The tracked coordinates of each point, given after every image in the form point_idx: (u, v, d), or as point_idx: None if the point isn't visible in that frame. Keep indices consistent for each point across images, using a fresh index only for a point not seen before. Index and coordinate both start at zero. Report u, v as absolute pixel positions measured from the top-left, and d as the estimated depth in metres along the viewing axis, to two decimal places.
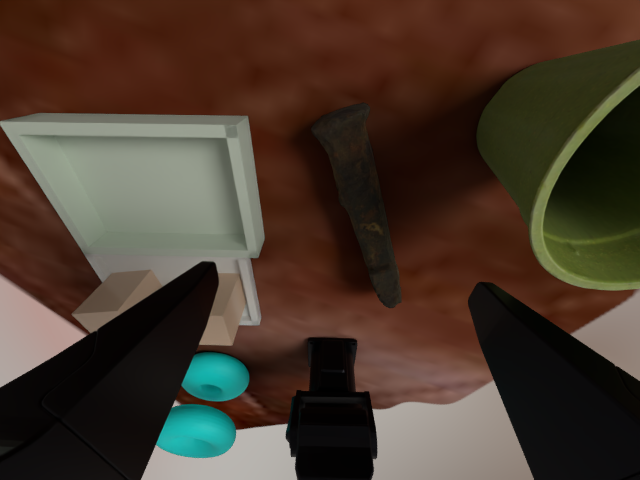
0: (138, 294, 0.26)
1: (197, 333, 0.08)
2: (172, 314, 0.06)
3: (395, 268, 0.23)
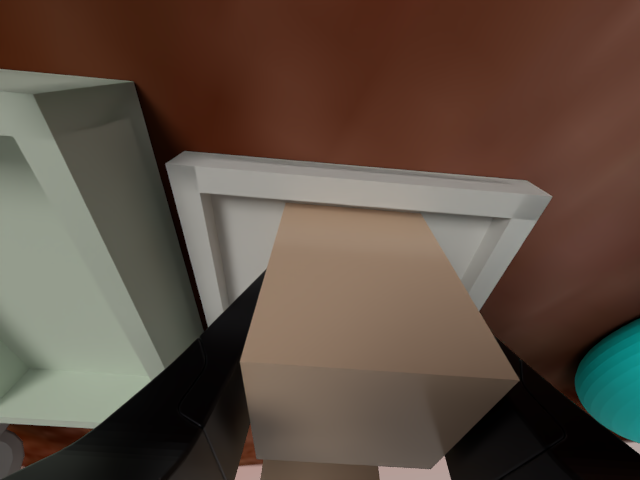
0: None
1: None
2: None
3: None
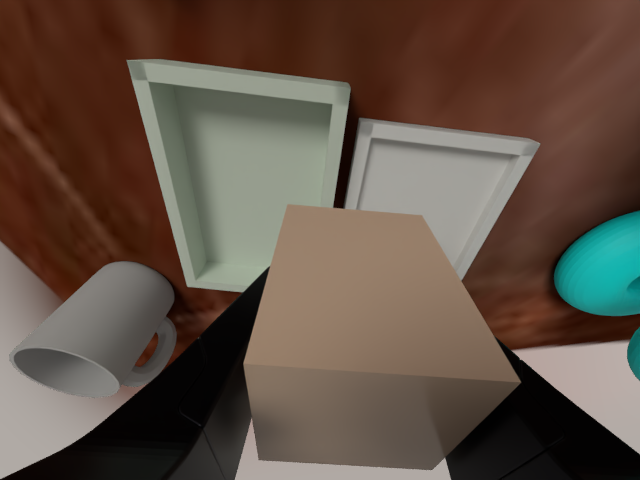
0: None
1: None
2: None
3: None
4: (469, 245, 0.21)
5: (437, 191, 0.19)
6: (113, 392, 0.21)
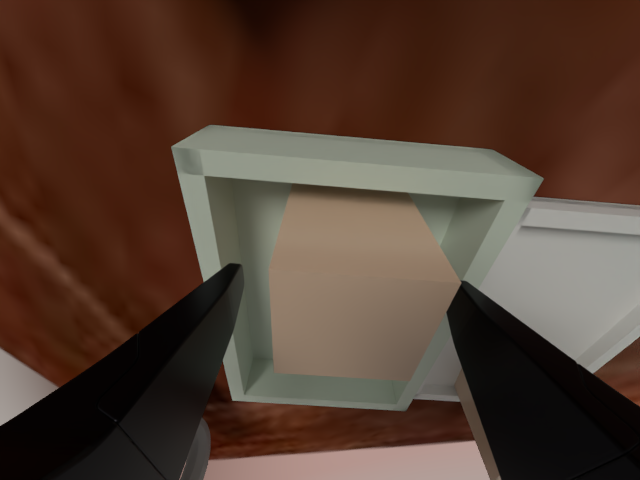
0: None
1: (227, 335, 0.08)
2: (208, 317, 0.06)
3: None
4: (613, 340, 0.15)
5: (587, 280, 0.13)
6: None
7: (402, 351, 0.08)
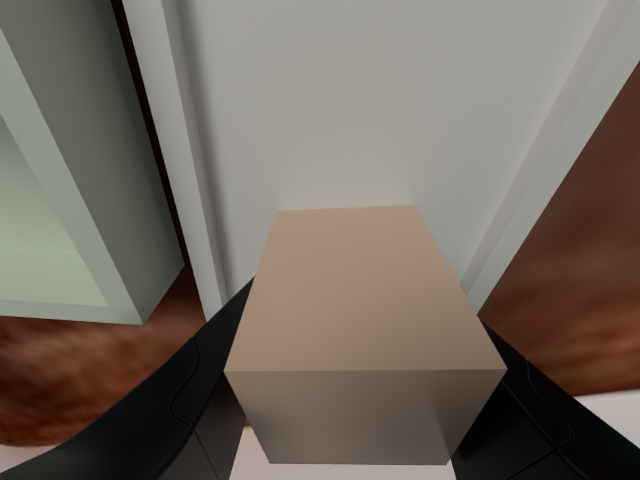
0: (286, 265, 0.06)
1: None
2: None
3: None
4: (541, 157, 0.07)
5: None
6: None
7: None
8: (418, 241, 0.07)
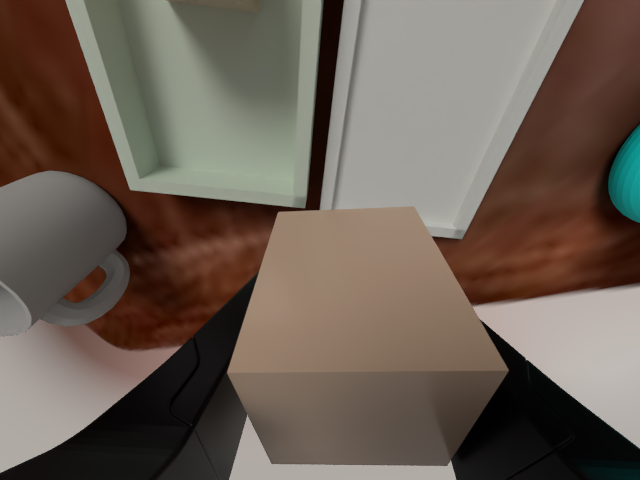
0: (288, 267, 0.06)
1: None
2: None
3: None
4: (504, 125, 0.15)
5: (465, 33, 0.14)
6: (26, 326, 0.15)
7: None
8: (419, 242, 0.07)
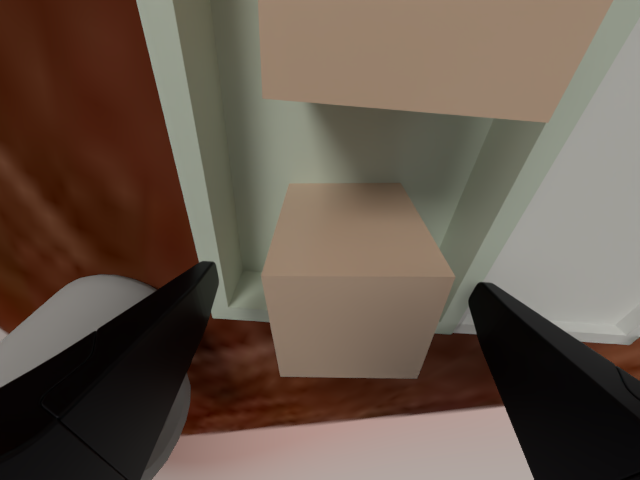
0: (300, 219, 0.08)
1: (197, 333, 0.08)
2: (172, 314, 0.06)
3: None
4: None
5: None
6: None
7: None
8: (402, 206, 0.09)
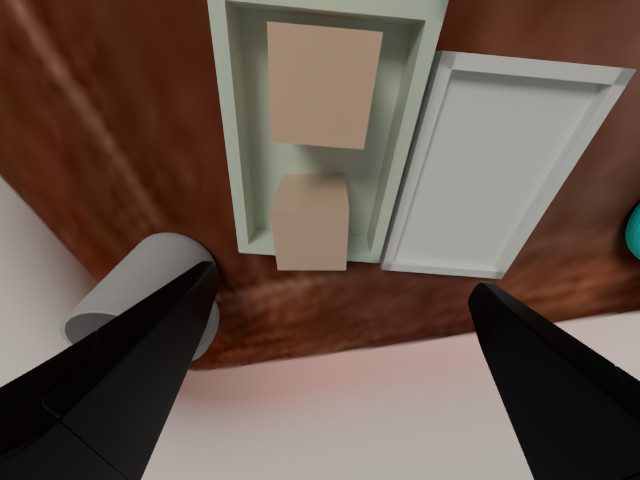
0: (287, 190, 0.17)
1: (197, 333, 0.08)
2: (172, 314, 0.06)
3: None
4: (541, 196, 0.19)
5: (512, 134, 0.17)
6: None
7: (355, 111, 0.12)
8: (339, 184, 0.17)
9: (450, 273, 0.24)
